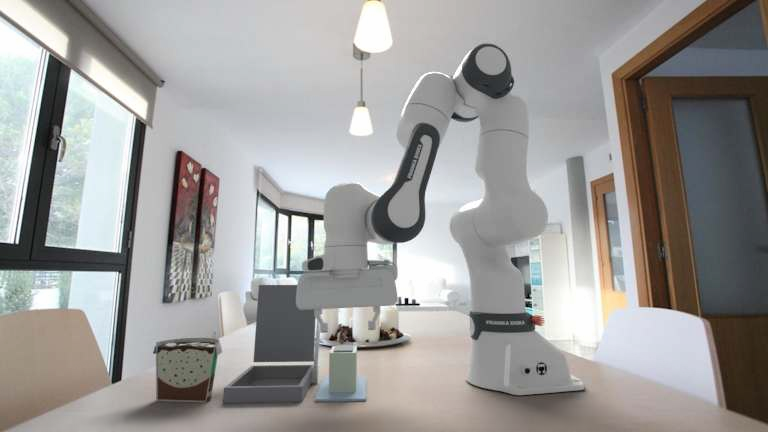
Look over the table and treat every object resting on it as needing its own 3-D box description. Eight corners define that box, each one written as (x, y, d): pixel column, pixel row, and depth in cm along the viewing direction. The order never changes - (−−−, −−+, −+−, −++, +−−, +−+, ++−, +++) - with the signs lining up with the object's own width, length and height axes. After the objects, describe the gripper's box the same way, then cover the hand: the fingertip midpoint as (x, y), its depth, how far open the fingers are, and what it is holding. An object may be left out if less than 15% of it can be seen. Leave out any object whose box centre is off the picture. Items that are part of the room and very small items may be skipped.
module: (356, 381, 78) (356, 344, 79) (355, 391, 71) (356, 351, 72) (332, 381, 78) (332, 344, 79) (328, 392, 71) (329, 351, 72)
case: (320, 375, 84) (322, 314, 86) (308, 401, 67) (311, 324, 69) (252, 376, 84) (255, 314, 86) (222, 403, 66) (227, 324, 68)
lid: (313, 361, 84) (314, 360, 85) (316, 284, 88) (317, 285, 89) (253, 362, 83) (255, 361, 84) (258, 284, 87) (260, 285, 88)
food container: (231, 392, 72) (235, 337, 74) (214, 402, 66) (218, 343, 68) (170, 390, 74) (175, 336, 75) (148, 400, 68) (153, 342, 69)
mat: (365, 378, 82) (365, 376, 82) (366, 400, 67) (366, 398, 67) (323, 378, 82) (323, 376, 82) (314, 401, 67) (314, 399, 67)
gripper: (395, 259, 82) (398, 326, 80) (299, 263, 81) (299, 331, 79) (398, 258, 76) (401, 330, 74) (293, 263, 74) (294, 336, 72)
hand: (348, 331), depth 76 cm, fingers open, 8 cm apart
